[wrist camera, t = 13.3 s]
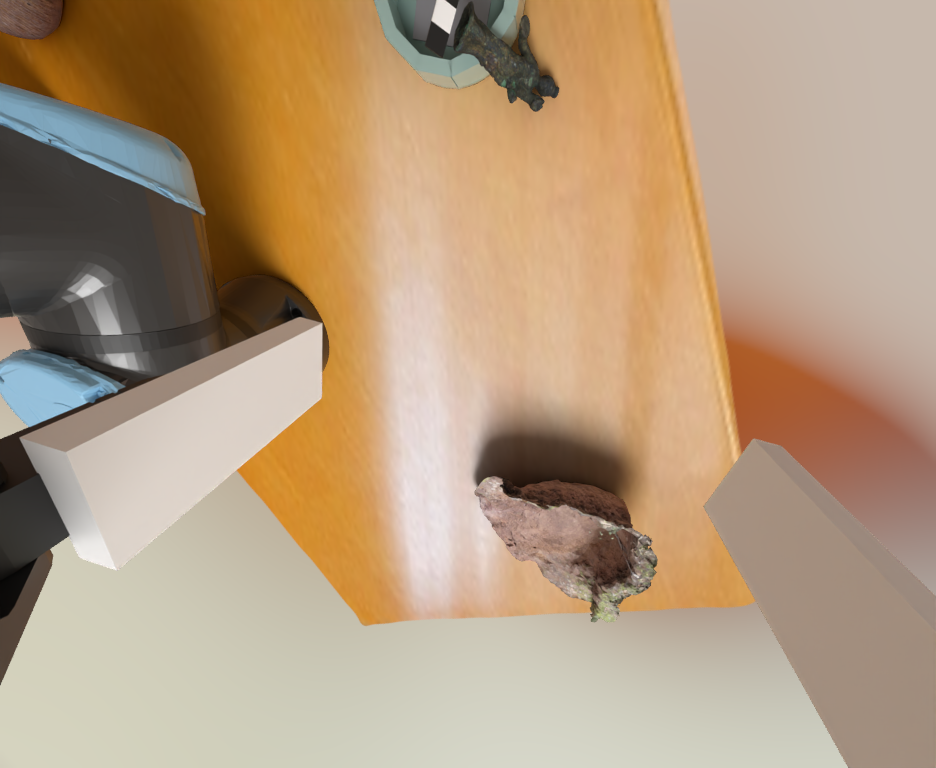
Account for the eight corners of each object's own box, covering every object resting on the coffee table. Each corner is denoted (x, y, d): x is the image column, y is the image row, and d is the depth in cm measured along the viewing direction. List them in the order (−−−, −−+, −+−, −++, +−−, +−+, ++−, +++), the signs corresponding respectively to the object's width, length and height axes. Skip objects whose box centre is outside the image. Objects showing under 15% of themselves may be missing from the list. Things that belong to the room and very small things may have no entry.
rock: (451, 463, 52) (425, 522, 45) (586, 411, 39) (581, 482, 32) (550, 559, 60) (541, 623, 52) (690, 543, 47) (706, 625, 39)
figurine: (460, -90, 20) (598, 45, 26) (436, -55, 23) (565, 59, 29) (425, 45, 22) (560, 140, 28) (408, 60, 25) (532, 143, 31)
